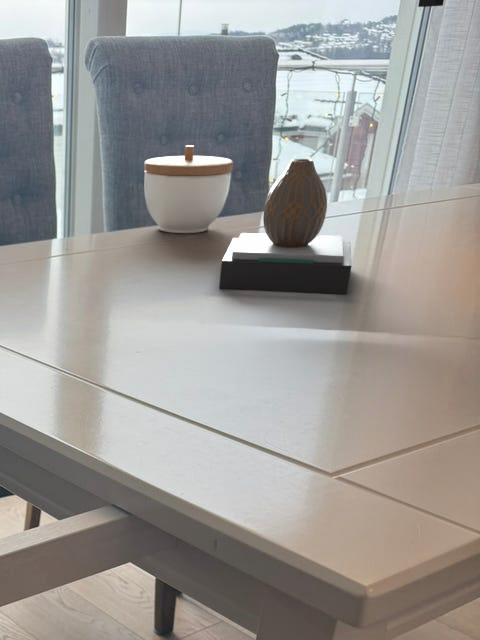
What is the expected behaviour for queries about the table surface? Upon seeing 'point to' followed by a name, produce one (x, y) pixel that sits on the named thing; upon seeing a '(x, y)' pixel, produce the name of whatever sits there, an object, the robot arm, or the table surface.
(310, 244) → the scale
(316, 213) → the vase
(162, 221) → the lidded bowl
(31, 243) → the table surface
